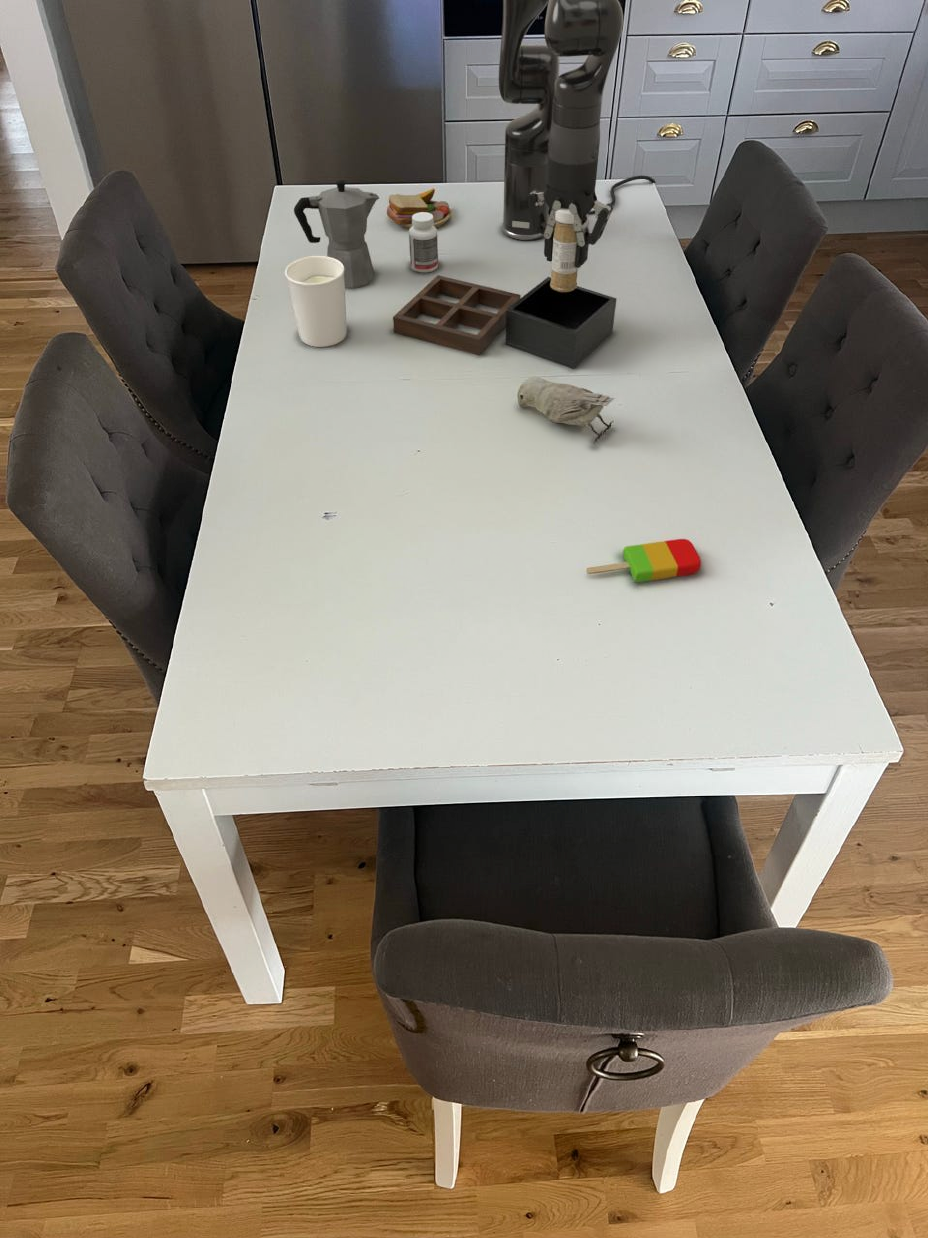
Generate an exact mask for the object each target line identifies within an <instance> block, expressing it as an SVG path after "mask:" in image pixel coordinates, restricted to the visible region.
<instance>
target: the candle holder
mask: <svg viewBox="0 0 928 1238" xmlns="http://www.w3.org/2000/svg"><path fill="white" fill-rule="evenodd" d="M284 275H285V278H286V283H287V287H288V293H289V296H290V302H291V305H292V310H293V313H294V314H293V315H294V319H295V324H296V328H297V331H298V332H297V333H298V335H299V338H300V340H301V341H302V343H304V344H306V345H308V346H311V347H314V348H315V347H316V348H326V347H331V346H334V345H337V344H339V343H340V342H342V341H344V339H345V338H346V336H347V335H348V334H347V331H348V326H347V307H346V306H347V303H346V302H347V301H346V288H345V280H344V266H343V264H342V263H341V262H340V261H338V260H337V259H334V258H331V257H327V255H309V256H305V257H301V258H298V259H296V260H294V261H292V262H291V263H289V264H287V266H286V268H285V270H284Z"/></svg>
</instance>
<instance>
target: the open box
mask: <svg viewBox="0 0 928 1238" xmlns="http://www.w3.org/2000/svg"><path fill="white" fill-rule="evenodd" d="M550 282H551V276H547V277H546V278H545V279H543V280H542V281H540V282H539V283H538V284H537V285H536V286H534V287H533V288H532V289H531V290H529V291H528V292H526V293H525V294H524V295H523V296H521V298H520V299H519V300H518V301H517V302H515V303H514V304H513V305H511V306H510V307H509V308H508V309H507V310H506V326H505V343H504V345H506V346H508V347H511V348H514V349H517V350H520V351H521V352H522V351H523V352H525V353H528V354H530V355H533V356H536V357H540V358H542V359H545V360H548V361H551V362H553V363H556V364H558V365H562V366H564V367H567V368H570V369H572V370H573V369H575V368H576V367H577V366H578V365H580V364H581V363H582V362H583V360H585V359H586V358H587V357H588V356H589V355H591V353H592V352H594V351H595V350H596V349H597V348H598V347H599V346H601V344H603V342H605V341H606V340H607V339H609V337H610V336H611V335H612V334H613V331H614V323H615V315H616V306H617V300H618V298H616V297H613V296H611V295H607V294H604V293H601V292H598V291H594V290H592V289H588V288H585V287H582V286H579V285H577V287H576V288H575V289H574V290H573V291H570V292H558V291H555V290H553V289H552V288H551V286H550Z"/></svg>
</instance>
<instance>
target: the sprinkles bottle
mask: <svg viewBox="0 0 928 1238" xmlns="http://www.w3.org/2000/svg"><path fill="white" fill-rule="evenodd" d="M554 215H555V214H554ZM575 219H576V218H575ZM555 220H556V222H555V227H554V236H553V252H552V261H551V275H550V277H551V282H550V286H551V288H552V289H553V290H555V291H558V292H570V291H573V290H574V289H575V288H576V287H577V286H578V281H577V280H578V271H579V268H577V267H575V258H576V246H577V245H578V242H577V236H576V233H575V232H574V228H573V223H574V215H573V214H572V213H570V211H569V209H566V208H562V207H561V209H560V210H558V211H556V215H555ZM581 223H582V220H581Z"/></svg>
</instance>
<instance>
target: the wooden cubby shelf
mask: <svg viewBox="0 0 928 1238" xmlns="http://www.w3.org/2000/svg"><path fill="white" fill-rule="evenodd" d="M441 295H443V296H446V297H450V298H455V299H459V300H458V301H457V303H456V302H451V301H448V300H443V299H439V297H440V296H441ZM520 298H522V295H521V294H518V293H515V292H510V291H506V290H501V289H498V288H493V287H491V286H490V287H489V286H485V285H481V284H477V283H474V282H473V283H472V282H469V281H464V280H461V279H455V278H452V277H447V276H444V275H439V274H438V275H436V276H435V277H434V278H433V279H432V280H431V281H430V282H429V283H427V285H426V286H424V287H423V288H422V289H421V290H420V291H419V292H418V293H417V294H416V295H415V296H414V297H412V299H410V301H408V302H407V303H406V304H405V305H404V306H403V307H402V308H401V309H400V310H398V312H396V313H395V314H394V315H393V317H392V322H393V333H395V334H397V335H401V336H402V335H403V336H405V337H409V338H413V339H417V340H421V341H424V342H428V343H432V344H436V345H439V346H443V347H447V348H450V349H454V350H457V351H462V352H465V353H469V354H474V355H477V356H481V355H482V353H483V352H484V351H485V350H486V349H487V348H488V347H489V346H490V344H491V343H492V342H493V341H494V340H495V339H496V338H497V337H498V336H499V334H500V333H502V331H503V330H504V329H506V310H507V309H508V308H509V307H510V306H511V305H513V304H514V303H515V302H517V301H518V300H519V299H520ZM478 305H483V306H487V307H492V308H496V309H499V310H498V311H497V312H492V311H488V310H484V309H480V308H476V307H477V306H478ZM420 315H425V316H428V317H433V318H437V319H439V320H438V321H437V322H436V323H434V322H433V323H432V322H429V321H425V320H420V319H417V318H418V317H420ZM459 325H464V326H468V327H471V328H476V329H480V330H479V332H478V333H476V334H475V333H472V332H467V331H463V330H459V329H456V328H457V327H458V326H459Z"/></svg>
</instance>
